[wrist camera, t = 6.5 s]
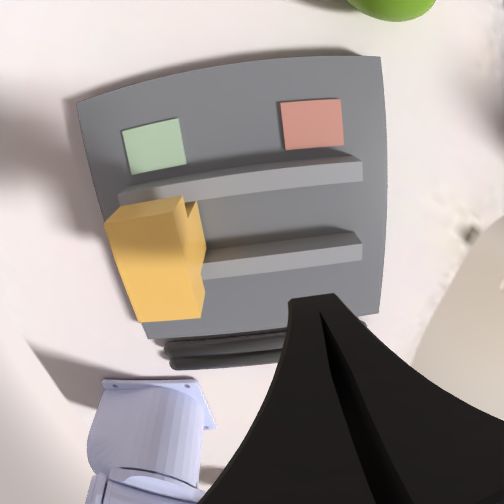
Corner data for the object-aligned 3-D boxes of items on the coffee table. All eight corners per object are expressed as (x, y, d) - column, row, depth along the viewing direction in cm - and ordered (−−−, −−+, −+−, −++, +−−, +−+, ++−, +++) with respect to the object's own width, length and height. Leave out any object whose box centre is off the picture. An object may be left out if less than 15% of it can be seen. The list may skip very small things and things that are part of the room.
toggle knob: (160, 270, 18) (139, 322, 14) (138, 189, 16) (103, 223, 12) (210, 264, 18) (200, 317, 14) (192, 179, 16) (172, 211, 12)
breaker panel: (168, 363, 24) (162, 391, 22) (88, 101, 15) (61, 105, 12) (367, 340, 24) (377, 368, 21) (369, 59, 14) (392, 54, 12)
